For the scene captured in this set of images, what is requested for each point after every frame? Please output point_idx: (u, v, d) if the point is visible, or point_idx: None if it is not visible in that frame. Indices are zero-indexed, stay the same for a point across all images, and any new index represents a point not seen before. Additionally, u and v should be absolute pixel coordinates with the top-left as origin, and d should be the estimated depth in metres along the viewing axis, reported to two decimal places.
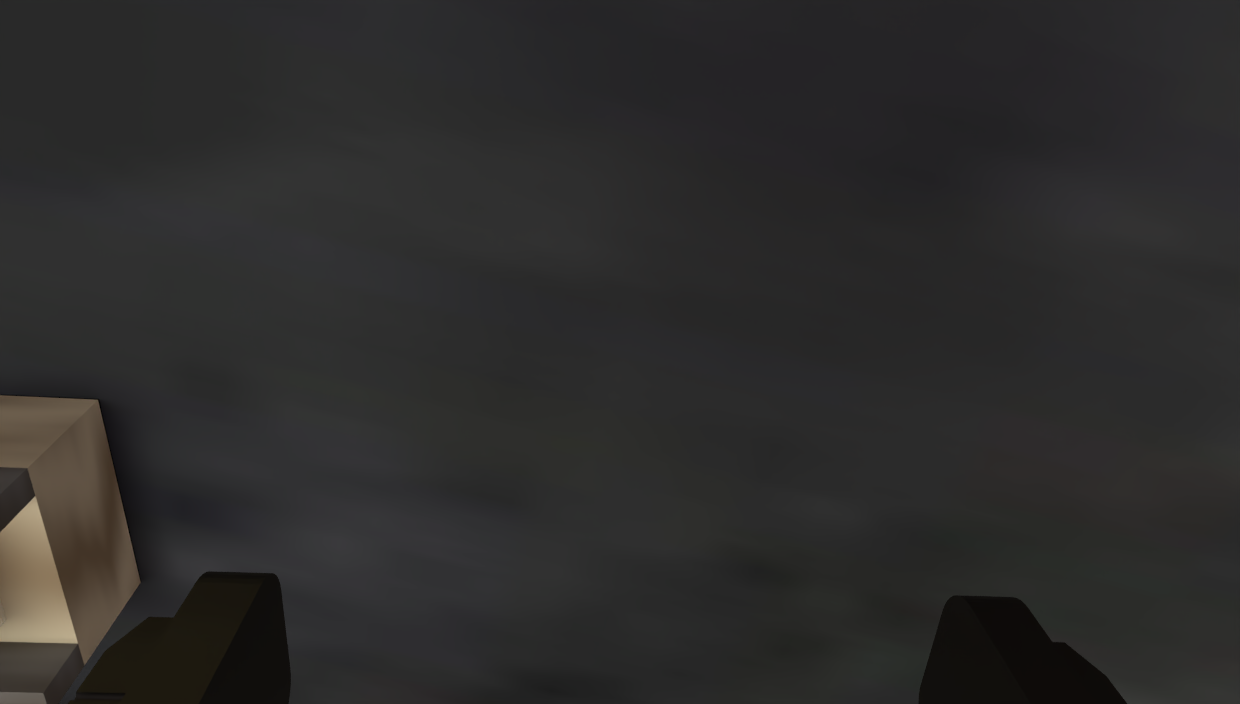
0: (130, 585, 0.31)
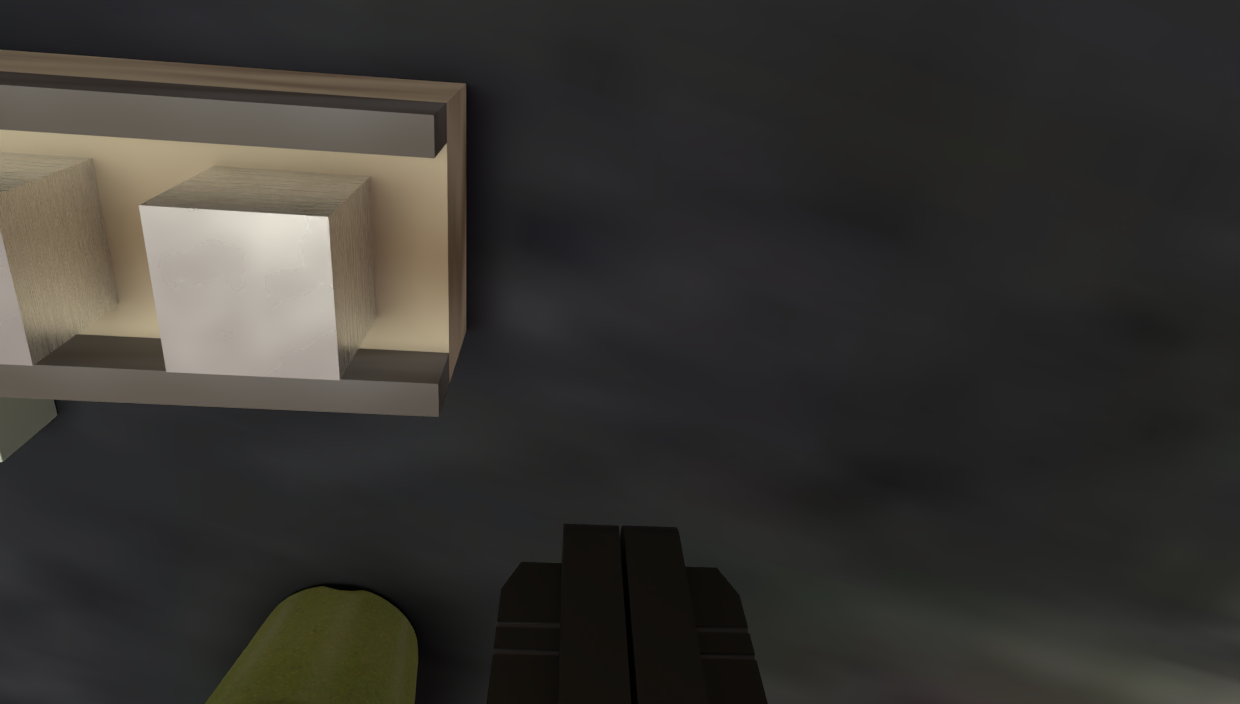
0: (463, 325, 0.27)
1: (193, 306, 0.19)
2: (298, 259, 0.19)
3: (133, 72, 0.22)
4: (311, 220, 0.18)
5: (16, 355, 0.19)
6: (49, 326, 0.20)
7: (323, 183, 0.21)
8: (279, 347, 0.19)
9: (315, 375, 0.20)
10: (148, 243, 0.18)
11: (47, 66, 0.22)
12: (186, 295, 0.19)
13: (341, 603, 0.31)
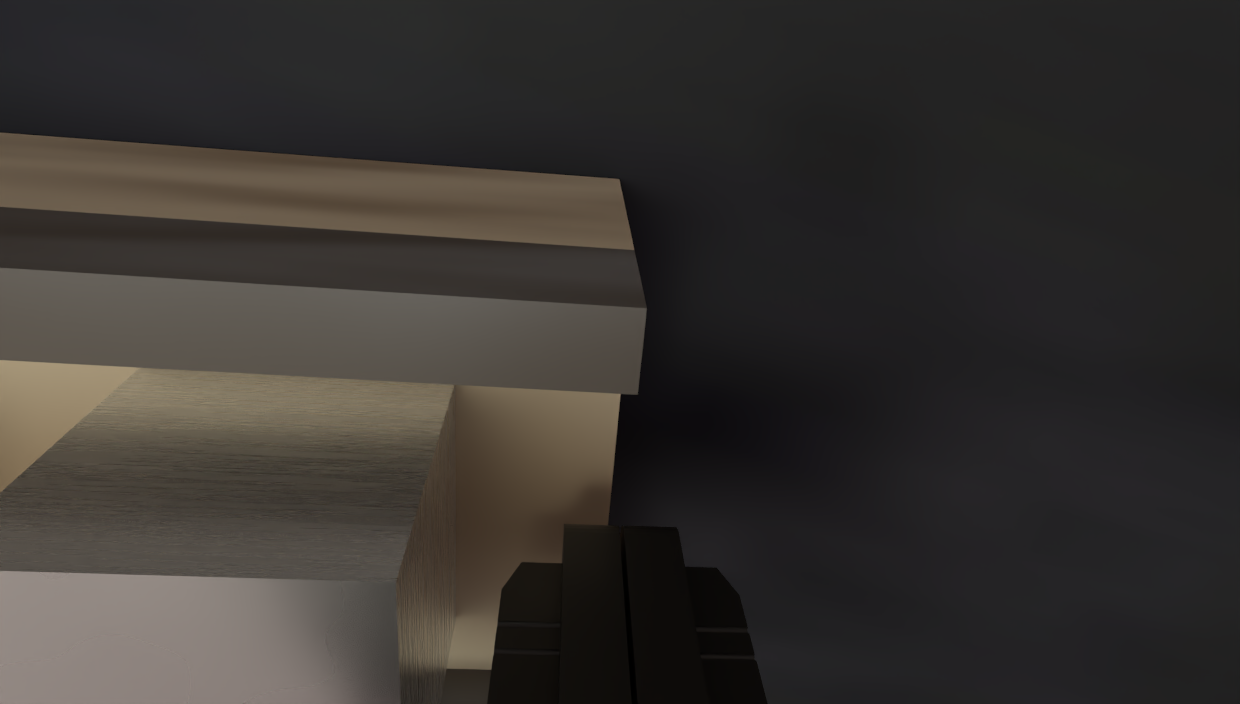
0: None
1: None
2: (320, 668, 0.08)
3: (1, 175, 0.11)
4: (355, 592, 0.07)
5: None
6: None
7: (367, 419, 0.10)
8: None
9: None
10: None
11: None
12: None
13: None
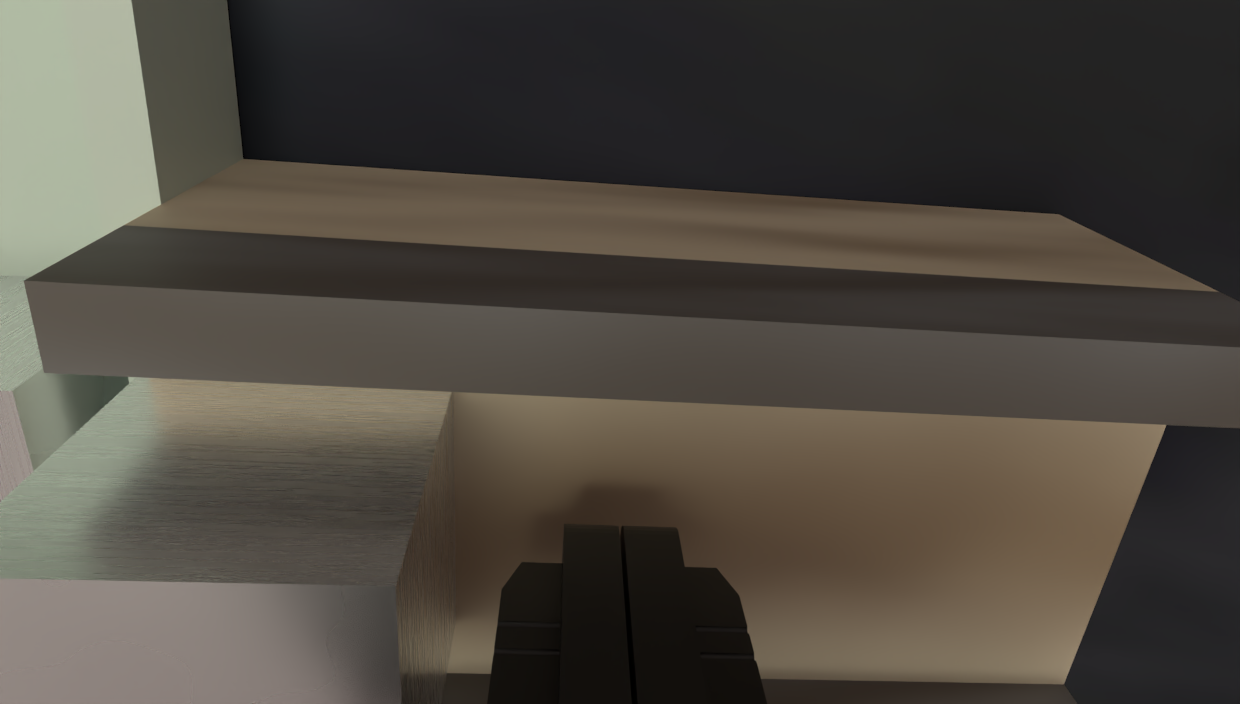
0: None
1: None
2: (321, 673, 0.08)
3: (594, 224, 0.12)
4: (355, 596, 0.07)
5: None
6: None
7: (365, 424, 0.10)
8: None
9: None
10: None
11: (440, 215, 0.11)
12: None
13: None
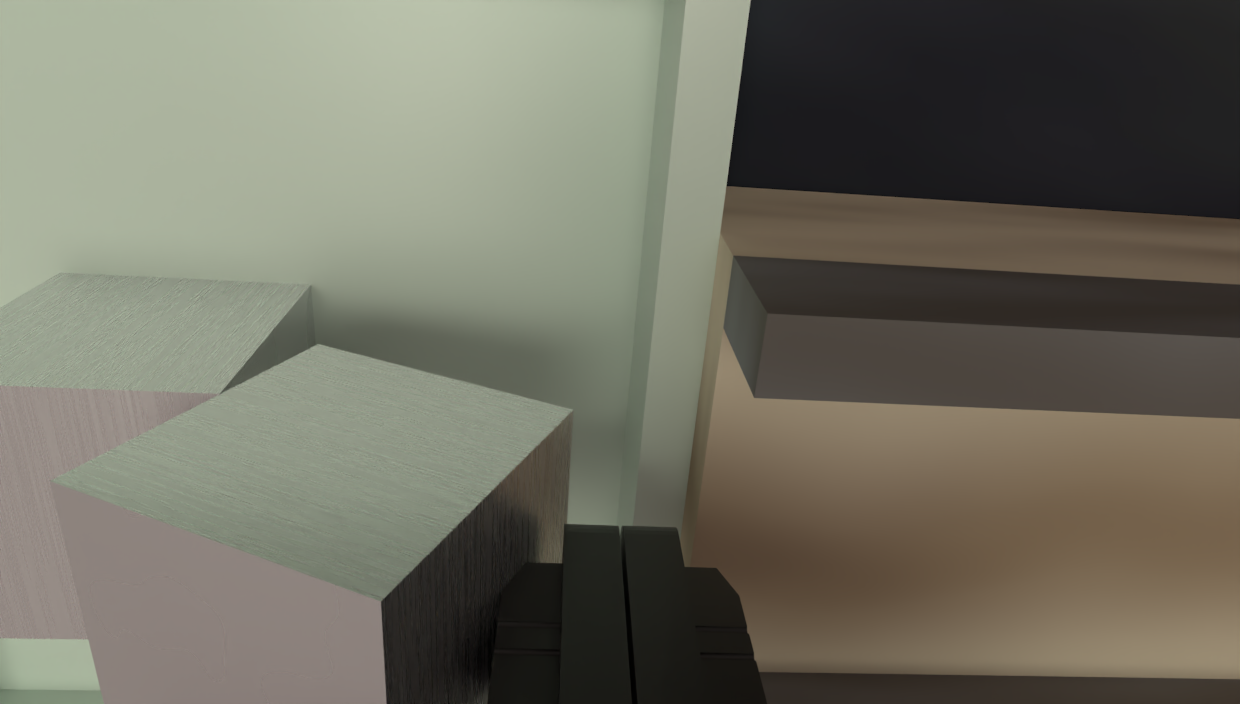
0: None
1: (148, 678, 0.09)
2: (320, 664, 0.08)
3: (1093, 248, 0.12)
4: (348, 598, 0.07)
5: None
6: (16, 604, 0.11)
7: (466, 430, 0.10)
8: None
9: None
10: (81, 545, 0.09)
11: (957, 241, 0.12)
12: (135, 657, 0.09)
13: None
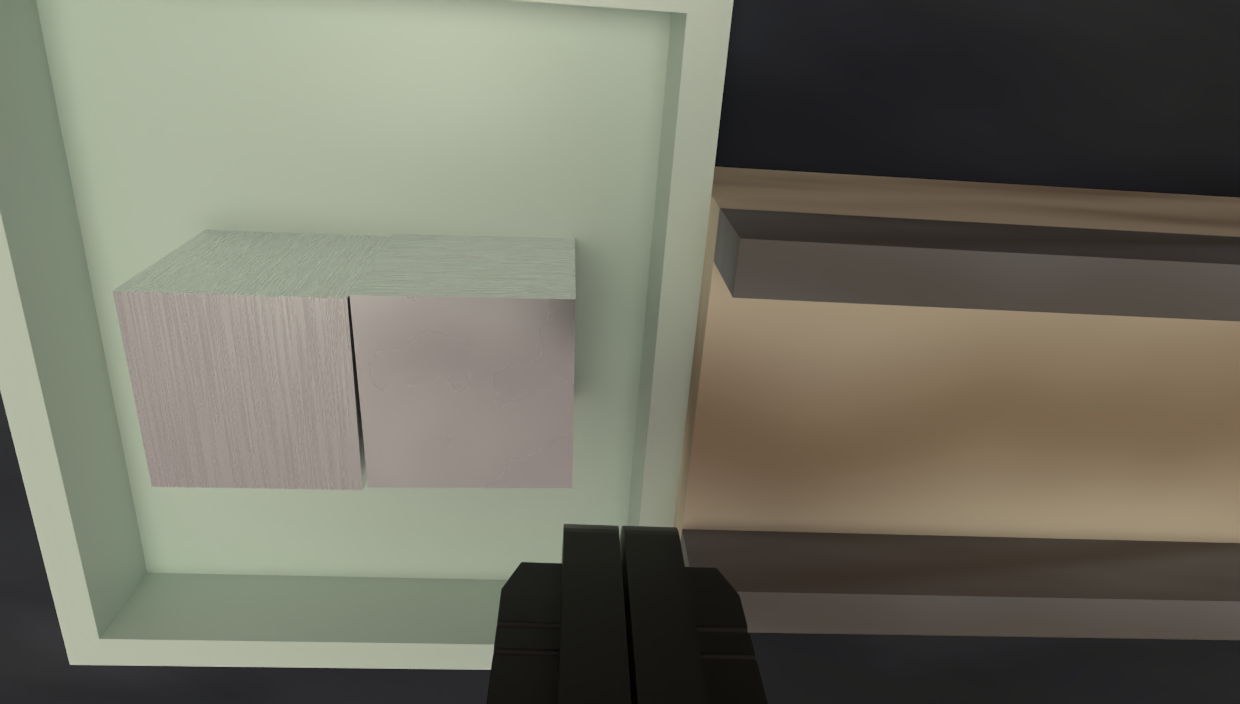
0: None
1: (405, 410, 0.16)
2: (535, 350, 0.15)
3: (986, 206, 0.17)
4: (555, 305, 0.15)
5: None
6: (194, 459, 0.16)
7: (532, 251, 0.18)
8: (504, 453, 0.16)
9: (544, 484, 0.16)
10: (356, 339, 0.15)
11: (884, 201, 0.17)
12: (398, 398, 0.16)
13: None
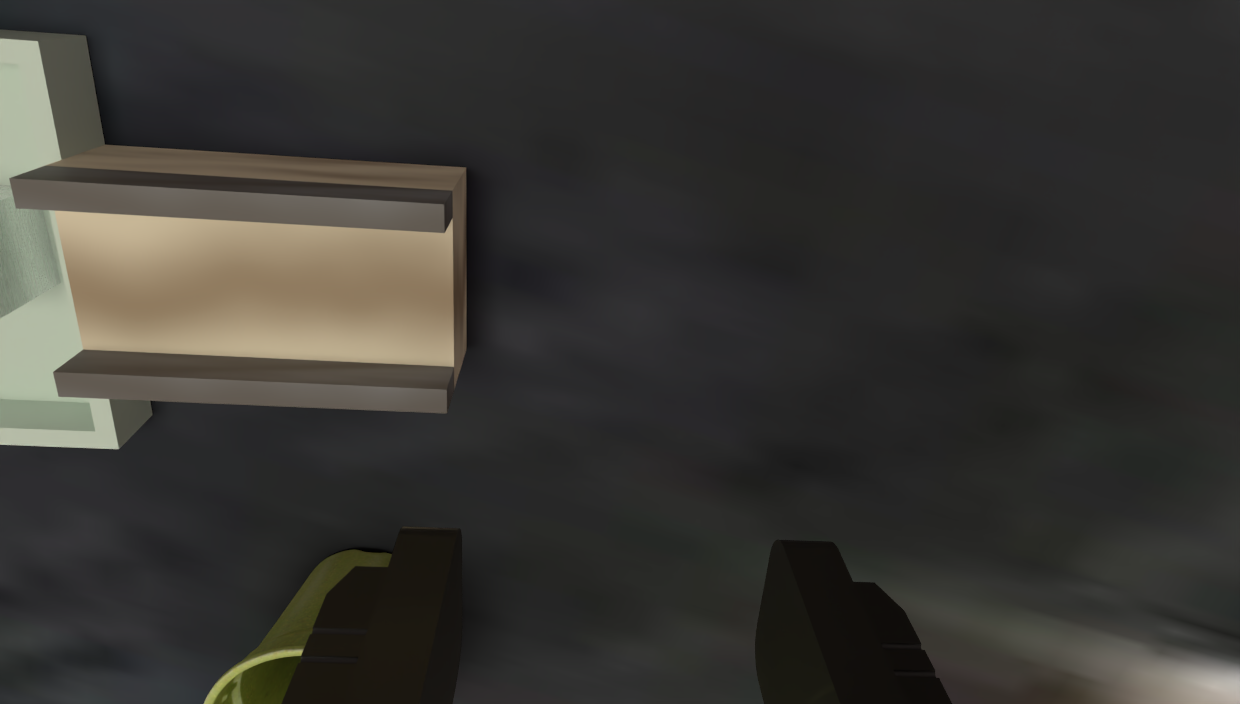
0: (464, 345, 0.36)
1: None
2: None
3: (228, 167, 0.31)
4: None
5: None
6: None
7: None
8: None
9: None
10: None
11: (168, 164, 0.30)
12: None
13: (369, 561, 0.40)
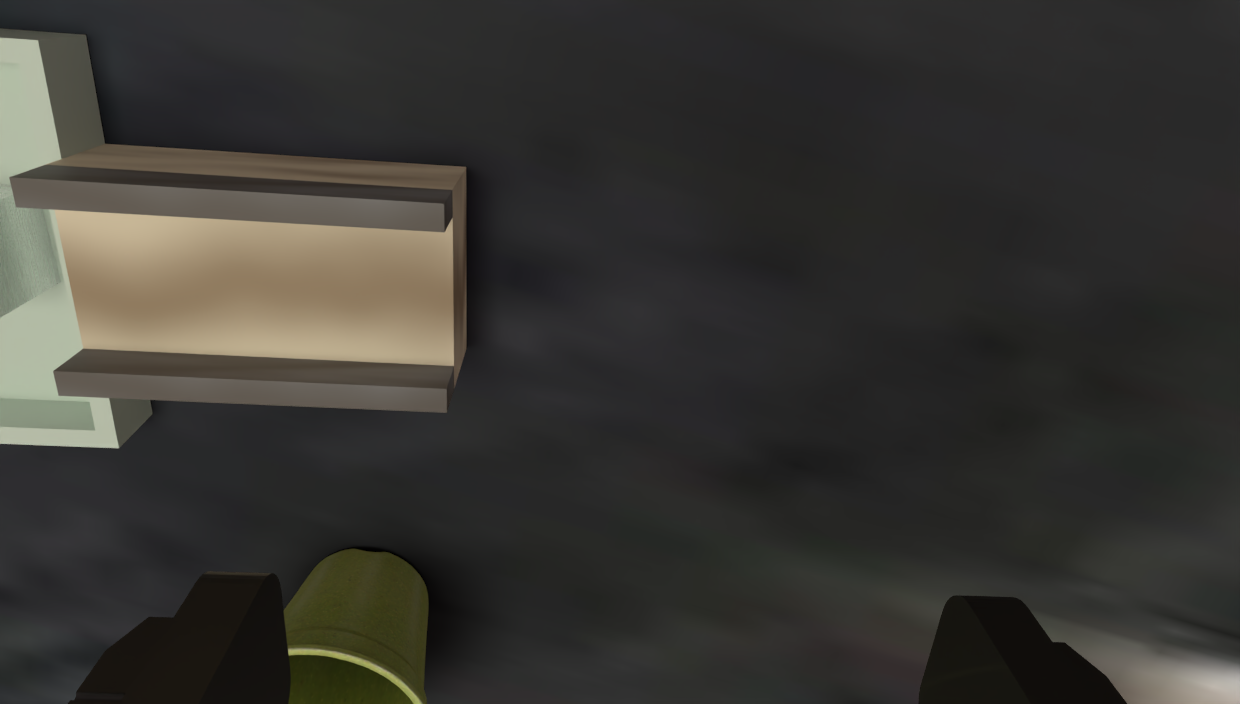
0: (464, 344, 0.36)
1: None
2: None
3: (228, 167, 0.31)
4: None
5: None
6: None
7: None
8: None
9: None
10: None
11: (168, 163, 0.30)
12: None
13: (369, 560, 0.40)
